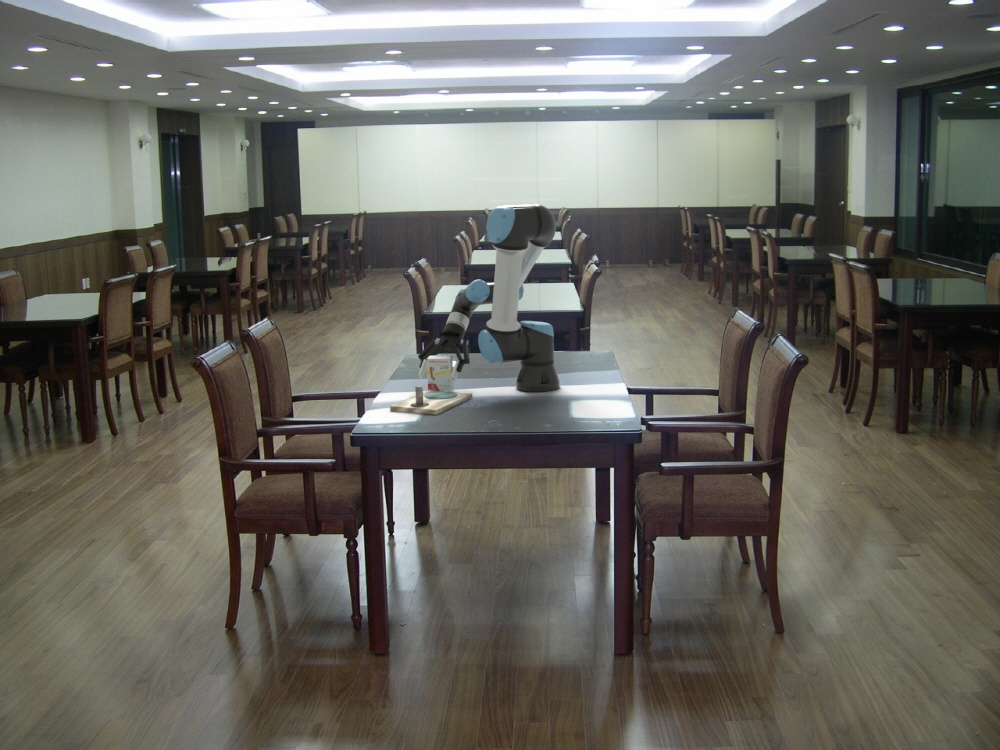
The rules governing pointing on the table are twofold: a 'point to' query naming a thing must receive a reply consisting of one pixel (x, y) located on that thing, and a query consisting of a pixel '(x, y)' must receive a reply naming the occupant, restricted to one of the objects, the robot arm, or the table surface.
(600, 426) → the table surface
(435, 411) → the board
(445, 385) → the ink box
